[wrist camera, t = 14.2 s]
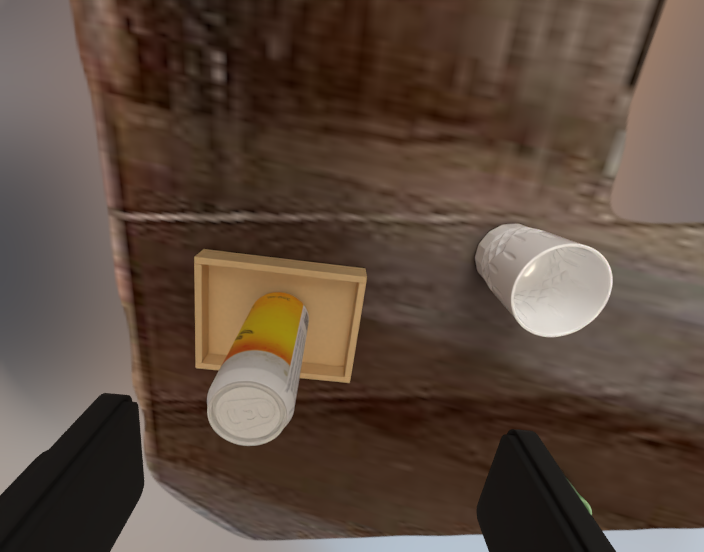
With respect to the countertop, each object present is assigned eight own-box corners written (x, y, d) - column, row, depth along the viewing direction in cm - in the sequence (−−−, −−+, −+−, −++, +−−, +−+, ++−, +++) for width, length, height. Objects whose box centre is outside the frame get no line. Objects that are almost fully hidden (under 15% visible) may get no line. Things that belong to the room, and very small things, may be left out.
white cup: (530, 294, 39) (590, 342, 30) (460, 285, 39) (498, 331, 29) (555, 223, 37) (629, 251, 27) (480, 211, 36) (529, 237, 27)
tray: (203, 248, 36) (193, 256, 34) (365, 268, 38) (367, 277, 35) (204, 354, 41) (195, 368, 38) (349, 369, 42) (349, 383, 39)
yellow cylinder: (244, 295, 38) (187, 388, 24) (301, 283, 37) (277, 369, 23) (261, 345, 40) (219, 457, 26) (315, 333, 39) (302, 441, 25)
